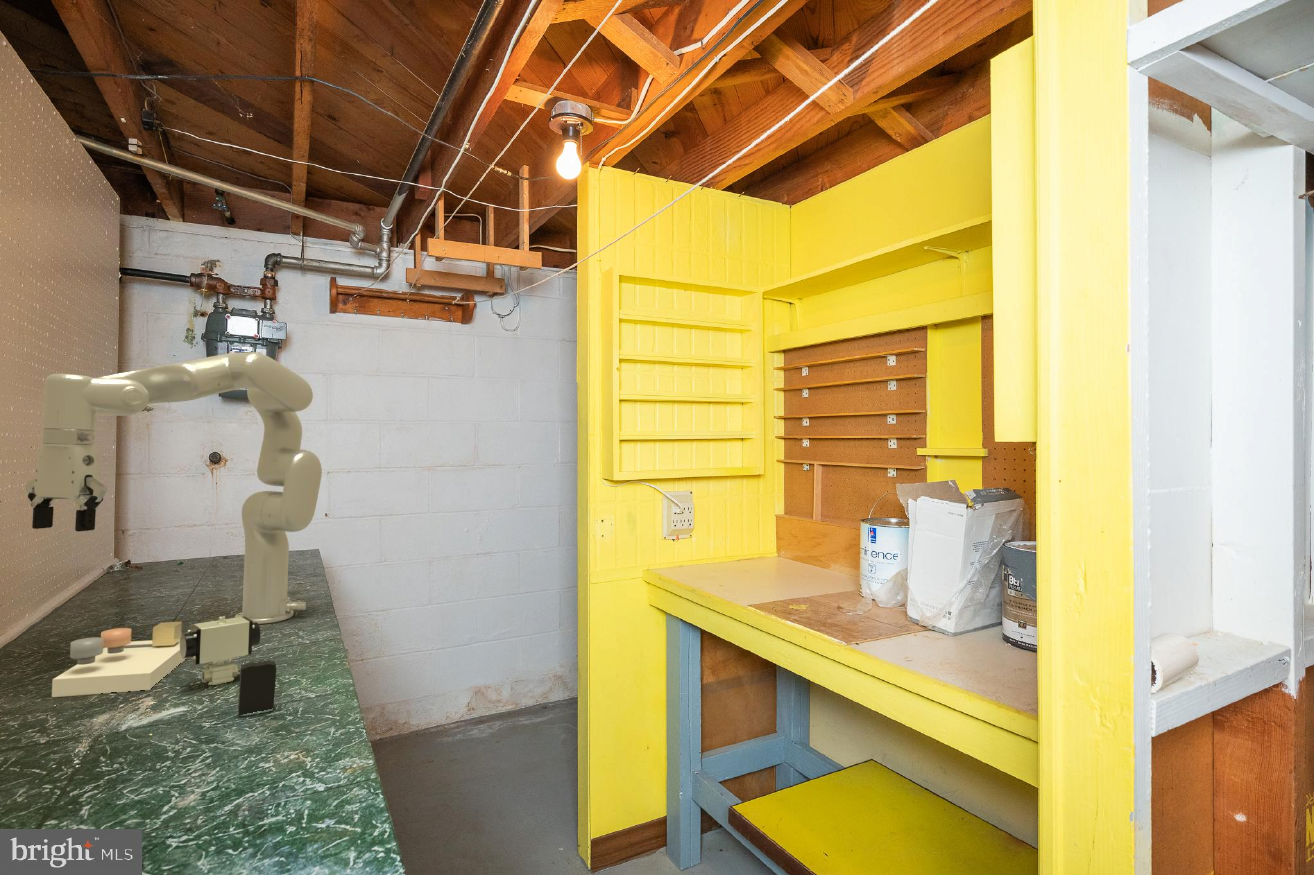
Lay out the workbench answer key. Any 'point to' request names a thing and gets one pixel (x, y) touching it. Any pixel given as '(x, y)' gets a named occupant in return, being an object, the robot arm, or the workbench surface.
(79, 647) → the grey button
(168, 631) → the brass slider
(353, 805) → the workbench surface
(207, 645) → the pneumatic valve
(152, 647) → the control panel
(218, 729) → the workbench surface
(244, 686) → the ink cartridge
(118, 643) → the terracotta button
